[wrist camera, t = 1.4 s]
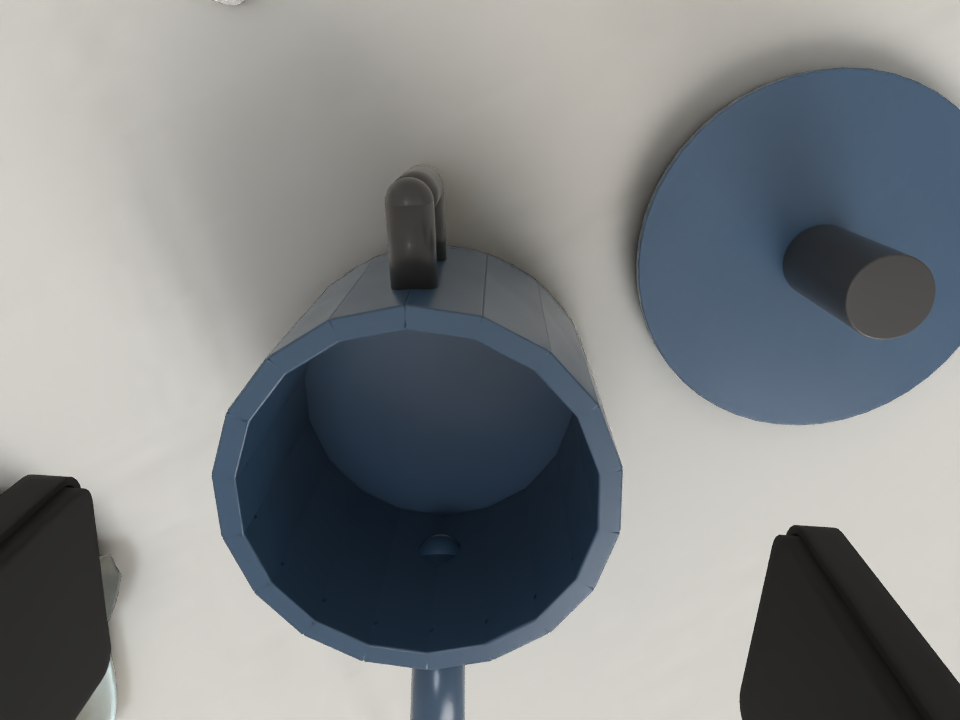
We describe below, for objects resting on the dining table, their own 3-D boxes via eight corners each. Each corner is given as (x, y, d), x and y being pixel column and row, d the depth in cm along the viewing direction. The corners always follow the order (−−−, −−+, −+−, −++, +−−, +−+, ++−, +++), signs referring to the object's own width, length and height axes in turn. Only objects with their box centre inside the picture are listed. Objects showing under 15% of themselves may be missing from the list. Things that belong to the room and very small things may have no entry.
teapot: (591, 239, 32) (629, 300, 23) (586, 521, 37) (615, 670, 27) (274, 246, 33) (183, 309, 23) (308, 525, 37) (243, 671, 28)
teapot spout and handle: (451, 162, 29) (436, 184, 22) (470, 646, 37) (464, 779, 30) (395, 163, 29) (361, 186, 22) (426, 646, 37) (408, 779, 30)
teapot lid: (1023, 62, 30) (1178, 53, 23) (954, 412, 34) (1066, 490, 28) (640, 74, 30) (681, 69, 23) (627, 417, 35) (658, 496, 28)
